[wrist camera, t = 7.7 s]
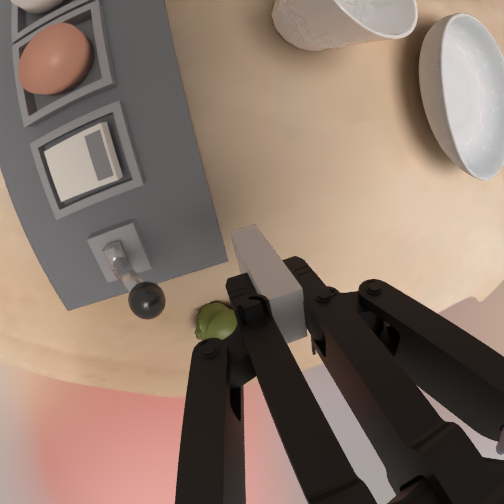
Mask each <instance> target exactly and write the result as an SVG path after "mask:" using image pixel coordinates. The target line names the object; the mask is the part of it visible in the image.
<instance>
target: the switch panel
mask: <svg viewBox="0 0 504 504" xmlns="http://www.w3.org/2000/svg"><path fill="white" fill-rule="evenodd" d="M57 23H68V24H71V25H73V26H75V27H76V28H77V29H79V30H80V31H81V32H82V33H83V34H84V35H85V36H87V37H88V38H89V40H90V41H91V43H92V46H93V52H94V53H93V61H92V64H91V67H90V69H89V71H88V73H87V74H86V76H85V77H84V79H83V80H82V81H81V82H80V83H79V84H78V85H77V86H76V87H75V88H73V89H72V90H70V91H68V92H66V93H64V94H61V95H44V94H35V93H31V92H28V91H27V90H25V89H24V88H23V86H22V85H21V83H20V81H19V77H18V66H19V61H20V58H21V55H22V53H23V51H24V49H25V48H26V46H27V44H28V43H29V42H30V41H31V39H32V38H33V37H34V36H35V35H36V34H38V33H39V32H40V31H41V30H43V29H45V28H46V27H48V26H51V25H53V24H57ZM102 122H107V124H108V128H109V131H110V135H111V139H112V142H113V145H114V149H115V152H116V156H117V159H118V162H119V165H120V168H121V171H122V175H123V177H122V178H120V179H119V180H117V181H114V182H111V183H108V184H106V185H103V186H100V187H98V188H95V189H92V190H90V191H87V192H85V193H82V194H79V195H77V196H74V197H72V198H70V199H67V200H65V201H62V202H61V201H60V198H59V195H58V193H57V190H56V187H55V184H54V182H53V179H52V176H51V173H50V170H49V167H48V164H47V160H46V157H45V154H44V151H46V150H48V149H50V148H51V147H53V146H55V145H57V144H59V143H60V142H62V141H64V140H66V139H68V138H70V137H72V136H74V135H76V134H78V133H80V132H82V131H84V130H86V129H88V128H90V127H93V126H95V125H97V124H99V123H102ZM0 167H1V171H2V174H3V177H4V180H5V183H6V186H7V189H8V192H9V195H10V197H11V200H12V203H13V205H14V208H15V210H16V213H17V215H18V218H19V220H20V223H21V225H22V227H23V229H24V232H25V234H26V236H27V238H28V240H29V243H30V245H31V247H32V249H33V251H34V253H35V255H36V257H37V259H38V261H39V263H40V264H41V266H42V268H43V270H44V272H45V274H46V275H47V277H48V279H49V281H50V283H51V284H52V286H53V288H54V289H55V291H56V293H57V294H58V296H59V298H60V299H61V301H62V302H63V304H64V306H65V307H66V309H67V310H68V311H70V310H73V309H76V308H79V307H82V306H86V305H89V304H92V303H95V302H99V301H102V300H105V299H108V298H112V297H115V296H118V295H121V294H124V293H128V292H129V291H128V290H127V288H126V287H125V285H124V284H123V282H122V281H121V279H116V277H115V275H114V273H113V271H112V269H111V267H110V265H109V263H108V261H107V259H106V257H105V255H104V253H103V251H102V249H103V248H104V247H105V246H106V245H108V244H109V243H111V242H114V241H119V243H120V245H121V247H122V250H123V252H124V254H125V256H126V259H127V261H128V263H129V264H130V265H131V266H132V268H133V269H134V270H135V271H136V273H137V274H138V275H139V276H140V277H141V279H142V280H143V281H148V282H153V283H155V284H157V283H160V282H163V281H166V280H169V279H173V278H176V277H179V276H182V275H185V274H189V273H192V272H195V271H198V270H202V269H205V268H208V267H211V266H214V265H218V264H221V263H224V262H227V261H228V257H227V254H226V250H225V247H224V243H223V240H222V236H221V232H220V229H219V225H218V222H217V218H216V214H215V211H214V207H213V203H212V200H211V196H210V192H209V188H208V185H207V181H206V177H205V173H204V169H203V165H202V162H201V158H200V154H199V150H198V146H197V142H196V138H195V134H194V130H193V126H192V122H191V118H190V114H189V110H188V106H187V102H186V97H185V93H184V89H183V85H182V80H181V76H180V72H179V67H178V63H177V59H176V54H175V50H174V45H173V41H172V36H171V31H170V27H169V22H168V17H167V13H166V8H165V3H164V0H64V1H63V2H61V3H60V4H59V5H57V6H56V7H54V8H52V9H50V10H48V11H46V12H43V13H39V14H31V13H29V12H27V11H25V10H24V9H22V8H20V7H19V6H17V5H15V4H14V3H12V2H11V0H0Z"/></svg>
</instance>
